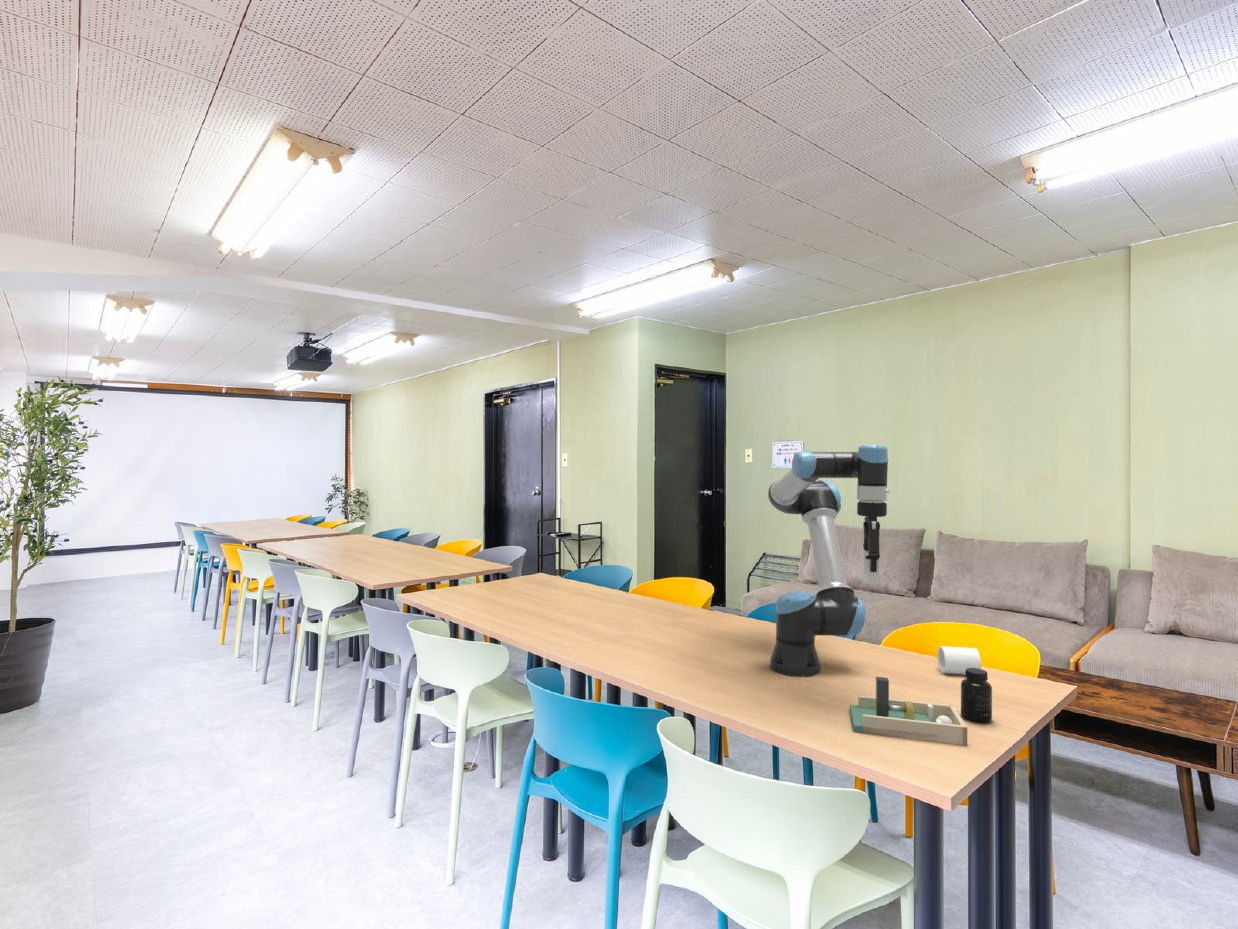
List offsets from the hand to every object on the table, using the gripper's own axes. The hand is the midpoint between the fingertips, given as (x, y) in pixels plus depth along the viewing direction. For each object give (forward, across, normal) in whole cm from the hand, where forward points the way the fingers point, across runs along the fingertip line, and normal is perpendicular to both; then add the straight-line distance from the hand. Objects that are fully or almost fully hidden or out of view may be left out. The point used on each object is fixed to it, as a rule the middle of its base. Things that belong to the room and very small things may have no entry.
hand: (870, 579), depth 172 cm
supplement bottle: (+32, -9, -24) cm, 41 cm away
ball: (+30, -20, -15) cm, 39 cm away
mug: (+33, +32, -28) cm, 53 cm away
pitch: (+31, -20, -7) cm, 38 cm away
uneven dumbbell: (+30, -20, -4) cm, 36 cm away
